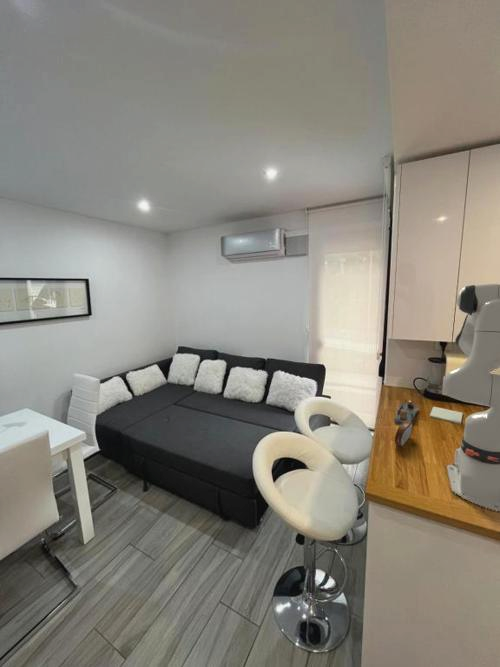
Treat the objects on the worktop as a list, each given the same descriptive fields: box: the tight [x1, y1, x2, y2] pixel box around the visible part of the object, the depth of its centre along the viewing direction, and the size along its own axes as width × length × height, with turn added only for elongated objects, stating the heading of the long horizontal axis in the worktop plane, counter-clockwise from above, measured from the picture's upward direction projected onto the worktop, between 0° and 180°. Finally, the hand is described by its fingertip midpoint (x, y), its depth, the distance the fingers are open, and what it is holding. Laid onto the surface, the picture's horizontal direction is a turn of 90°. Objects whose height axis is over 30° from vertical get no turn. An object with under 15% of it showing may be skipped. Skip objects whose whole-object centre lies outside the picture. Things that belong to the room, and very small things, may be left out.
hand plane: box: [393, 399, 419, 425], centre depth 142 cm, size 22×7×6 cm, turn 139°
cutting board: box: [429, 406, 464, 425], centre depth 142 cm, size 13×13×1 cm
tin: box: [394, 420, 413, 447], centre depth 120 cm, size 15×3×8 cm, turn 133°
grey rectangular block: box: [441, 375, 448, 396], centre depth 140 cm, size 4×5×9 cm
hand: (447, 384), depth 140 cm, fingers closed on grey rectangular block, 4 cm apart
